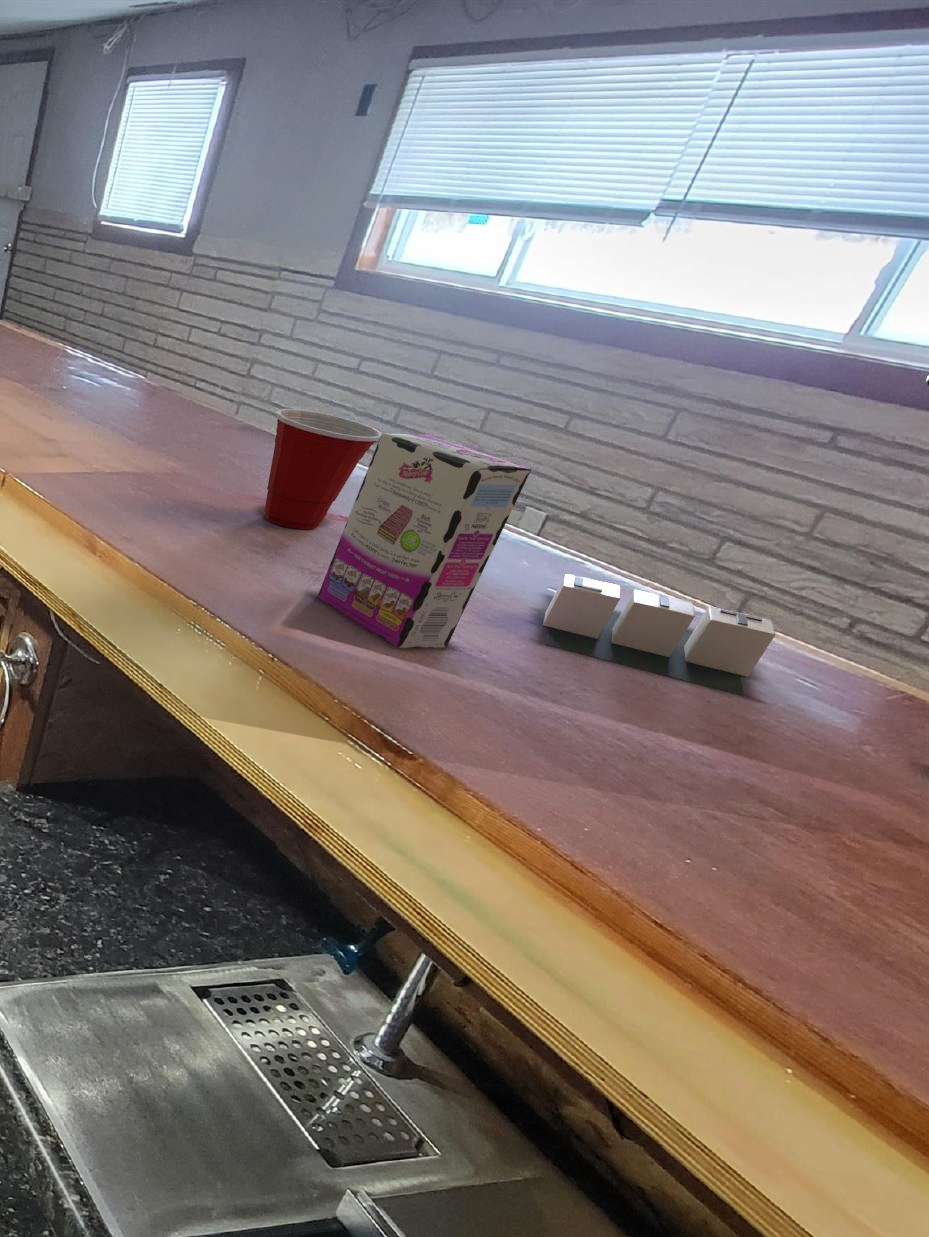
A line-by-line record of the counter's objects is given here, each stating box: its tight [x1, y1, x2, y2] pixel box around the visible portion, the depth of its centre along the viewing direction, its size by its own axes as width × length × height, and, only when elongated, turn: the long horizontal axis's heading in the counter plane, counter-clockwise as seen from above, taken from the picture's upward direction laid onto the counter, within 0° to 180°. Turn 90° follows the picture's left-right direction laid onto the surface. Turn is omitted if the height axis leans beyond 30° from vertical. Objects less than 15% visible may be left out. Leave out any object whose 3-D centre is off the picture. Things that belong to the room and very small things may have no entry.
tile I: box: [611, 588, 696, 657], centre depth 86 cm, size 4×4×4 cm
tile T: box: [684, 605, 776, 678], centre depth 83 cm, size 4×4×4 cm
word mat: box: [545, 612, 745, 697], centre depth 87 cm, size 13×14×1 cm
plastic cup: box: [263, 408, 383, 530], centre depth 112 cm, size 11×11×12 cm
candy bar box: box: [317, 433, 532, 649], centre depth 86 cm, size 11×5×16 cm, turn 6°
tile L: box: [542, 573, 622, 639], centre depth 89 cm, size 4×4×4 cm
